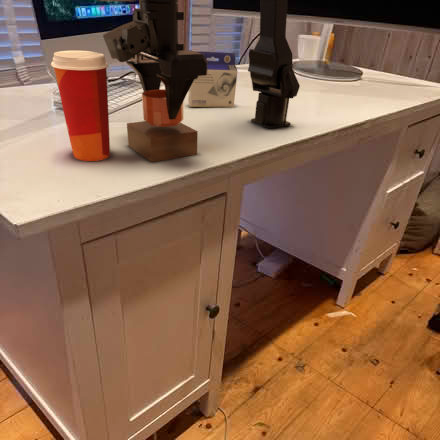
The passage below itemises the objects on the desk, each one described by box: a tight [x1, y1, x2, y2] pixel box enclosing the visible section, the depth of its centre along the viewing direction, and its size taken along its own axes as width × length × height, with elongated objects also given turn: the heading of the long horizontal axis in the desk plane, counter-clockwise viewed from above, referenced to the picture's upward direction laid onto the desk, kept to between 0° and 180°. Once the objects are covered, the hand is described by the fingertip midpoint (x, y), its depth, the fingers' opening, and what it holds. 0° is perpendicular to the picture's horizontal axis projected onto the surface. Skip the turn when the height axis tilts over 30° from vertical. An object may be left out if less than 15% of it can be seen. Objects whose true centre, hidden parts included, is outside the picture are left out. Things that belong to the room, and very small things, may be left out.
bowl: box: [141, 88, 184, 127], centre depth 70 cm, size 7×7×4 cm
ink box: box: [187, 50, 238, 108], centre depth 98 cm, size 12×2×12 cm, turn 107°
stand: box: [126, 120, 199, 163], centre depth 73 cm, size 9×9×4 cm
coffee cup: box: [50, 49, 111, 162], centre depth 66 cm, size 8×8×15 cm
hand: (161, 113), depth 71 cm, fingers closed on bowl, 7 cm apart
